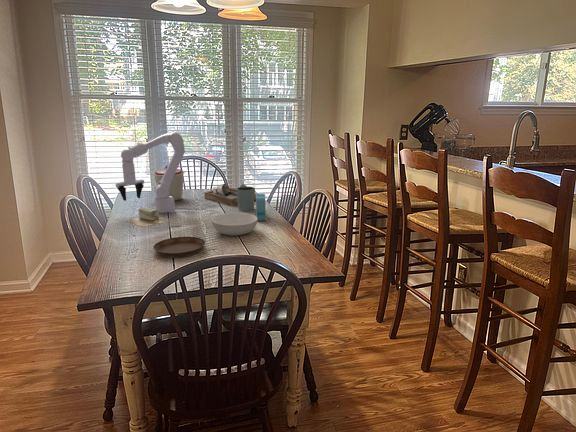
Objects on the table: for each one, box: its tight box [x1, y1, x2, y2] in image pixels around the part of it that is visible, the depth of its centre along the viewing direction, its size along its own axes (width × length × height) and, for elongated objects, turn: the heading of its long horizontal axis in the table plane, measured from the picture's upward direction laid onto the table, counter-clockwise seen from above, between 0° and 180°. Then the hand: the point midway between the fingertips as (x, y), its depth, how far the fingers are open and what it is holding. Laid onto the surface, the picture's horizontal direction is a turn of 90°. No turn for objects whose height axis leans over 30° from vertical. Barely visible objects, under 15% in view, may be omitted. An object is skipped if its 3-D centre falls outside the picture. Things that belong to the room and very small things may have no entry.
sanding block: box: [138, 206, 160, 222], centre depth 217 cm, size 4×9×5 cm, turn 56°
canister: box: [153, 164, 185, 202], centre depth 262 cm, size 18×18×21 cm
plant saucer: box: [153, 236, 206, 259], centre depth 178 cm, size 21×21×3 cm
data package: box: [255, 193, 267, 222], centre depth 222 cm, size 12×4×12 cm, turn 4°
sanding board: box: [125, 216, 170, 228], centre depth 216 cm, size 15×17×2 cm
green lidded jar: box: [236, 186, 256, 212], centre depth 240 cm, size 10×10×12 cm
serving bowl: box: [211, 212, 258, 236], centre depth 200 cm, size 21×21×7 cm
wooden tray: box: [203, 187, 257, 207], centre depth 264 cm, size 19×27×4 cm
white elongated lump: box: [211, 183, 248, 198], centre depth 263 cm, size 25×10×10 cm, turn 84°
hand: (131, 199), depth 226 cm, fingers open, 7 cm apart
